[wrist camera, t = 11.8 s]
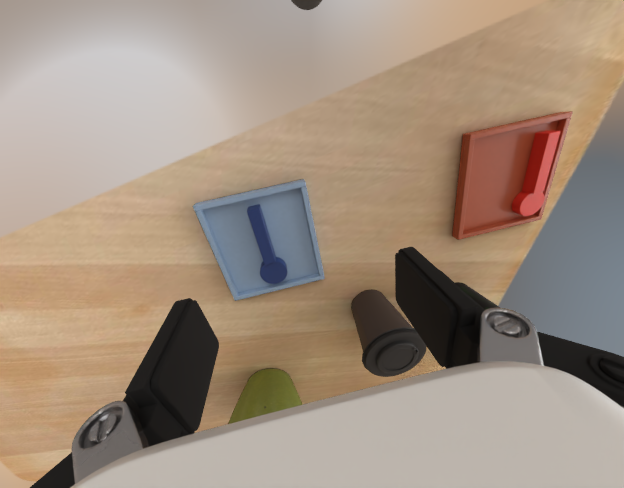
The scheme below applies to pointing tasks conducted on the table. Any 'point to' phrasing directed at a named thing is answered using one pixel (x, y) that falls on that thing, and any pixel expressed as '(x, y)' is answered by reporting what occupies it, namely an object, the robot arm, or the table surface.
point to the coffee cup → (385, 336)
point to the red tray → (500, 174)
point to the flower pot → (266, 395)
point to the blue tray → (282, 229)
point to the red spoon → (536, 173)
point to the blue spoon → (266, 248)
